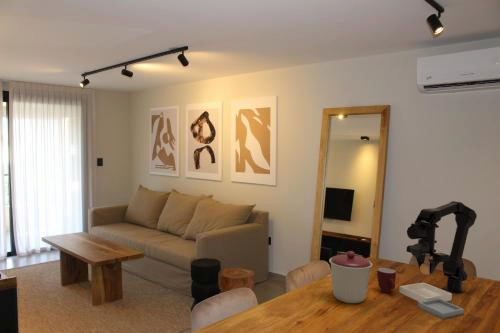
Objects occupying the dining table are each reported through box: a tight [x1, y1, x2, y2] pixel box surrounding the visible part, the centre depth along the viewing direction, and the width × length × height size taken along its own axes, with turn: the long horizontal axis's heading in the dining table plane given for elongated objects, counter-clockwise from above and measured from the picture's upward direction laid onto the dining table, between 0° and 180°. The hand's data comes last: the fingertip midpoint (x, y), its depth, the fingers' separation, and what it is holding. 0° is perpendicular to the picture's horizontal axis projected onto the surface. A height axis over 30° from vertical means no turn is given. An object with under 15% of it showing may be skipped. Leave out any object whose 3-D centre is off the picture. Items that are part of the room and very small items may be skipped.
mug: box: [376, 267, 397, 294], centre depth 178 cm, size 10×8×10 cm
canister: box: [328, 250, 373, 304], centre depth 169 cm, size 18×18×21 cm
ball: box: [419, 262, 431, 275], centre depth 174 cm, size 5×5×5 cm
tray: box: [417, 298, 465, 320], centre depth 159 cm, size 12×12×2 cm
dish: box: [398, 282, 453, 302], centre depth 175 cm, size 15×15×3 cm
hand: (425, 272), depth 174 cm, fingers closed on ball, 5 cm apart
